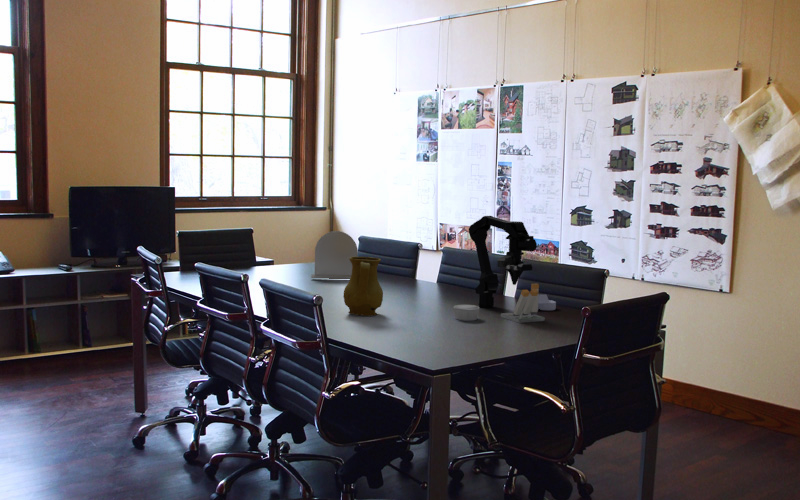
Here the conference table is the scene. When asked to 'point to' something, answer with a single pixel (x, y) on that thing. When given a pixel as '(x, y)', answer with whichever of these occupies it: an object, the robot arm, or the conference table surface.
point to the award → (334, 256)
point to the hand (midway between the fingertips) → (514, 284)
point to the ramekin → (466, 312)
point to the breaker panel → (522, 317)
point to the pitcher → (363, 287)
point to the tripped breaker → (535, 305)
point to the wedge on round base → (545, 303)
